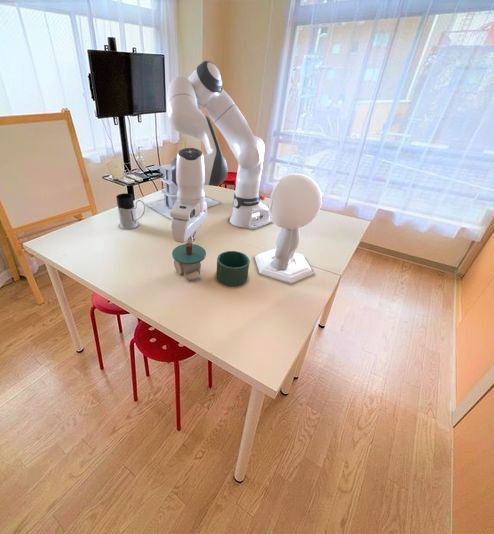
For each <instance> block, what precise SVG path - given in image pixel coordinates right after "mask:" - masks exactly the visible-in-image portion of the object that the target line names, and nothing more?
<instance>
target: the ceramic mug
mask: <svg viewBox="0 0 494 534" xmlns="http://www.w3.org/2000/svg"><path fill="white" fill-rule="evenodd" d="M201 263H202V261H201V262H199V263H196V264H182V263H179V262H177V261H176V260H174V259H173V267H174V269H175V271H176V273H177V274H178V275H180V276H184V277H185V278H186V279H187V280H188V281H191V282H195V281H197V280H198V279H199V278H200V277H201V268H202V264H201ZM194 272H198V275H197V276H196V277H190V276H188V275H189V274H191V273H194Z"/></svg>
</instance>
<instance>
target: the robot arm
mask: <svg viewBox="0 0 494 534" xmlns="http://www.w3.org/2000/svg"><path fill="white" fill-rule="evenodd" d="M204 108H205V111H206V113H207V115H208V116H209V117H208V116H207V115H205V113H203V112H202V111H201V110H202V109H204ZM166 114H167V118H168V123H169V125H170V126H171V128H173V129H174V130H175V131H176V132H178V133H179V134H182V135H185V136H190V137H194V138H196V139H199V140H200V141H201V142H202V143H203V146H204V148H205V151H206V154H204V153H203V151H201V150H200V149H199V148H195V147H185V148H182V149H180V150H178V152H177V154H176V156H175V157H174V158H173V160H172V161H171V162H170V164H171V169H172V182H173V183H174V184H175V185H177V186H178V192H177V200H176V202H175V205H174V206H173V208H172V210H171V211H170V216H171V217H173V219H171V234H172V235H171V236H172V239H173V241H174V242H177V243H182V244H183V243H184V244H185V242H186V241H187V243H190V244H194V242H195V241H196V240H197V233H198V229H199V228H200V227H201V226H202V225H203V223H205V222H206V221H207V219H208V207H207V203H206V202H205V197H206V193H205V186H209V187H210V186H211V187H219V186H221V185H222V184H223V183H224V182H225V180H226V179H227V178H228V169H229V168H228V164H227V160H226V157H225V156H224V154H223V152H222V149H221V146H220V143H219V141H218V138H217V136H216V132H215V129H214V126H213V124H214V125H215V127H216V128H217V130H218V131H219V132H220V133H221V135H222V137H223V138H224V139H225V142H226V143H227V145H228V147H229V149H230V151H231V153H232V154H233V156H234V158H235V160H236V162H237V164H238V166H237V172H236V178H235V190H234V194H233V205H232V206H233V207H232V211H231V215H230V218H229V223H230V225H233V226H235V227H238V228H243V229H244V228H245V229H249V230H256V229H258V228H261V227H264V226H266V225H269V224H272V223H273V222H272V220H271V217H270V216H269V214H268V207H269V206H267V205H266V204H264V203H263V202H262V201H265V199H266V197H265V196H264V195H263V194H260V193H259V192H260V185H261V177H262V172H263V166H264V165H263V163H264V158H265V151H266V145H265V143H264V140H263V139H262V138H261V137H260V136H257V135H254V132H253V131H252V129H251V127H250V125H249V124H248V121H247V119H246V118H245V116H244V115H243V113H242V111H240V108H239V107H238V106H237V105H236V103H235V101H234V100H233V99H232V97H231V96H230V95H229V94H228V93H227V91H225V89H223V76H222V73H221V71H220V69H219V67H218V66H217V65H216V64H215V63H214V62H212V61H210V60H204V61H202V62H201V63H200V64H198V65H197V67H196V69H194V71H193V72H192V73H191V74H190V75H189V76H188V77H185V76H176V77H175V78H173V79H171V81H170V82H169V84H168V87H167V93H166ZM212 122H213V124H212Z"/></svg>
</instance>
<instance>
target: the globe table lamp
mask: <svg viewBox="0 0 494 534" xmlns="http://www.w3.org/2000/svg"><path fill="white" fill-rule="evenodd" d="M322 204H323V195H322V191H321V188H320V187H319V184H318V183H317V182H316V181H315V180H314V179H313V178H311V177H310V176H308V175H306V174H303V173H296V172H294V173H286V174H284V175H283V176H282V177H281V178H280V179H279V180H277V181H276V182H275V184H274V185H273V188H272V190H271V193H270V196H269V201H268V206H267V207H268V214H269V216H270V217H271V220H272V222H271V223H273V224H274V225H276V226H277V227H279V228H281V230H280V231H279V234H278V236H277V237H276V246H275V247H276V248H273V249H269V250H267V251H263V252H261V253H257V255H255V256H254V260H255V263H256V266H257V269H258V272H259V275H261V276H265V277H267V278H271V279H273V280H277V281H280V282H283V283H287V284H290V285H292V284H294V283H297V282H298V281H301V280H303V279H305V278H308V277H311V276H313V275H314V271H313V270H312V268H311V266H310V264H309V263H308V261H307V260H306V258H305V256H304V254H302V253H298V252H296V250H297V249H298V247H299V245H300V241H301V240H300V239H301V236H300V235H301V233H300V228H303V227H305V226H307V225H309V224H310V223H311V222H312V221H314V220H315V218H316V217H317V216H318V214H319V213H320V210H321V208H322Z"/></svg>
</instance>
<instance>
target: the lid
mask: <svg viewBox="0 0 494 534" xmlns="http://www.w3.org/2000/svg"><path fill="white" fill-rule="evenodd" d="M171 256H172V259H173V261H174V260H176V261H177V262H179V263H182V264H196V263H199V262H201V263H202V261H204V260H205V259H206V257H207V251H206V249H205V248H204V247H202V246H201V245H199V244H195V243H192V244H190V243H188V242H186V243H184V244H183V243H182V244H180V245H178V246H175V248H174V249H172V252H171Z"/></svg>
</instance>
